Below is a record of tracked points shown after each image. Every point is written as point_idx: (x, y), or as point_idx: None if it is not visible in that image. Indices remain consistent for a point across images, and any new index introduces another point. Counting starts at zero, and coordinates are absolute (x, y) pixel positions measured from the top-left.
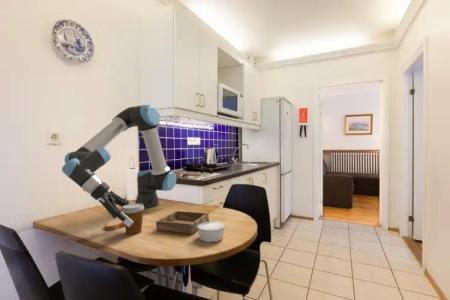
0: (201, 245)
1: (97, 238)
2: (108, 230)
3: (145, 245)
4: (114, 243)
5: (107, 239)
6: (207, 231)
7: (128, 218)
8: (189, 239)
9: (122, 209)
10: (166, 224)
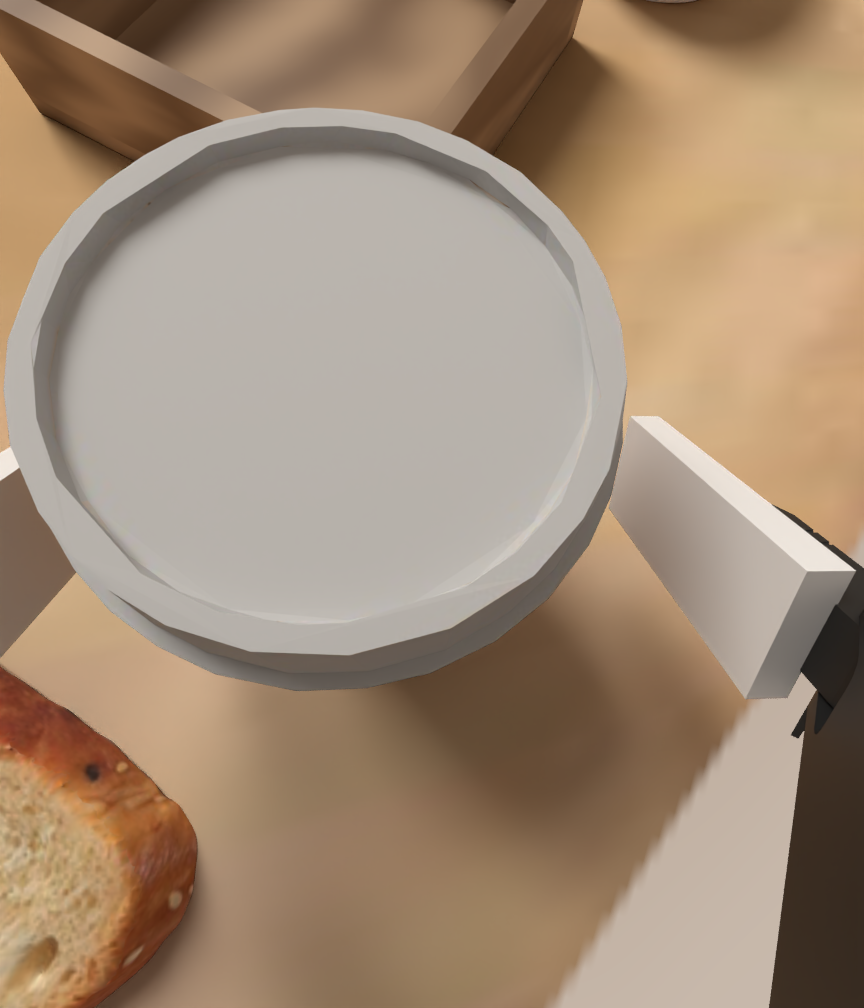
0: (782, 16)
1: (476, 983)
2: (175, 925)
3: (757, 364)
4: (681, 676)
5: (541, 809)
6: None
7: (712, 462)
8: (663, 66)
9: (460, 635)
10: (466, 133)
